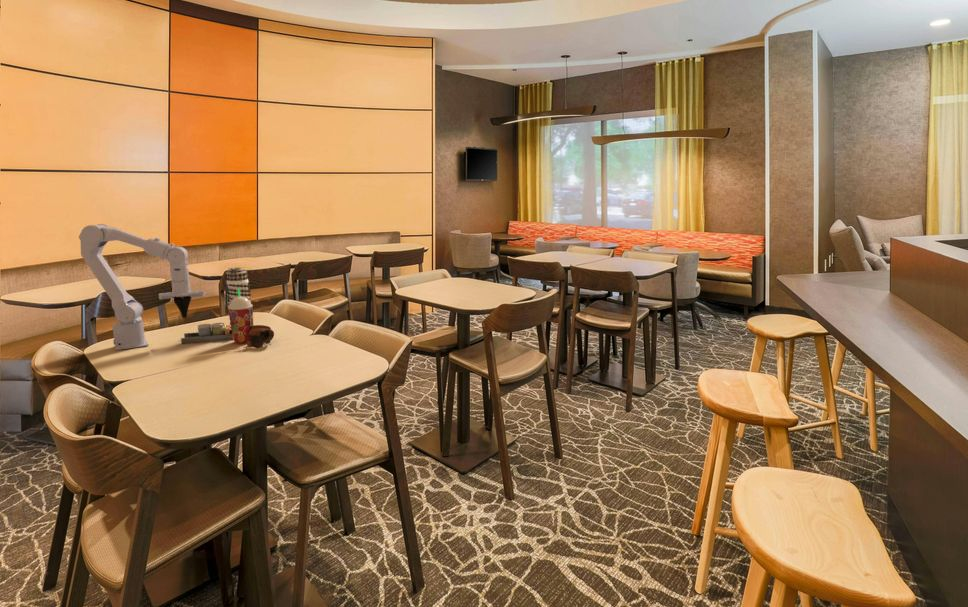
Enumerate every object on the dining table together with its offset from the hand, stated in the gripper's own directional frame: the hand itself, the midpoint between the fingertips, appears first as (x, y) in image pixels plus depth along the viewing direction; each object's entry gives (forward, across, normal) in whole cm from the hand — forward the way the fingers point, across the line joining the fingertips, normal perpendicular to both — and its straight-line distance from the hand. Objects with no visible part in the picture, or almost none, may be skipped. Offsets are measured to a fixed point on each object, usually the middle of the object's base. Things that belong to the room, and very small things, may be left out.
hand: (184, 317), depth 196 cm
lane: (+9, +8, 0) cm, 12 cm away
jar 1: (+9, +6, 0) cm, 11 cm away
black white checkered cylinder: (+10, +18, +12) cm, 23 cm away
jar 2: (+9, +11, 0) cm, 14 cm away
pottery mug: (+10, +26, -14) cm, 31 cm away
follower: (+9, +14, 0) cm, 17 cm away
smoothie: (+10, +20, -9) cm, 24 cm away
